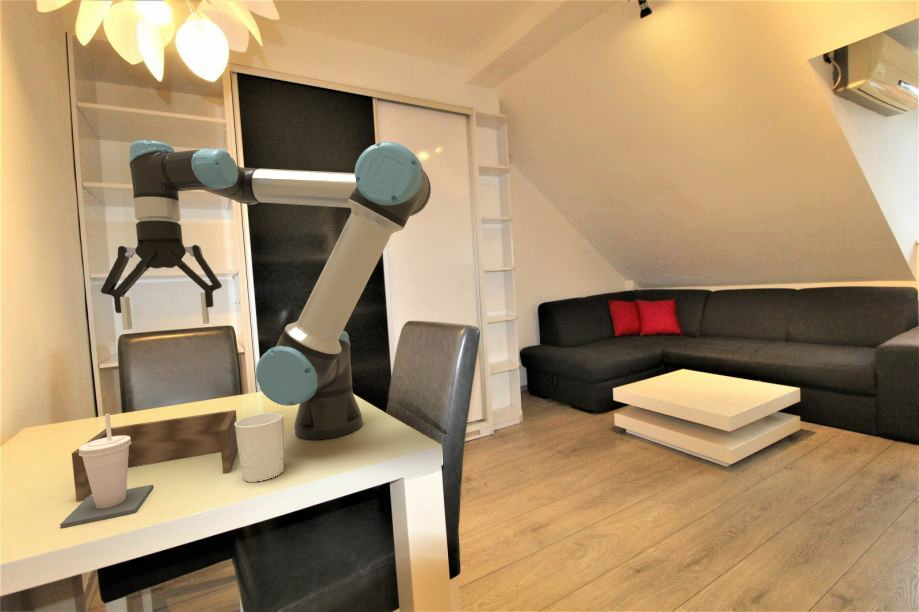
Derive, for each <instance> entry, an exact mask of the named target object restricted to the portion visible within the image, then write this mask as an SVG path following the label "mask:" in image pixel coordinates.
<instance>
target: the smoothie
mask: <svg viewBox="0 0 919 612" xmlns="http://www.w3.org/2000/svg"><path fill="white" fill-rule="evenodd" d="M104 416H105V417H104V419H105V429H106V430H107V438H102V439H98V440H95V441H91V442H89V443H87V442H85V443H86V444H85V443H84V444H82V445H80V446H79V447H78V448H79V455H80V456H82V458H83V462H84V466H85V469H86V473H87V476H88V480H89V484H90V487H91V491H92V494H91V495H92V496H93V498H94V502H95V505H96V508H108V507H112V506H115V505H117V504H120V503H121V502H123V501H124V500H125V499H126V489H128V487H127V485H128V470H129V468H128V456H129V445H130V444H131V438H130V437H129V436H112V434H111V428H112V425H111V414H110V413H105V414H104Z"/></svg>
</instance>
